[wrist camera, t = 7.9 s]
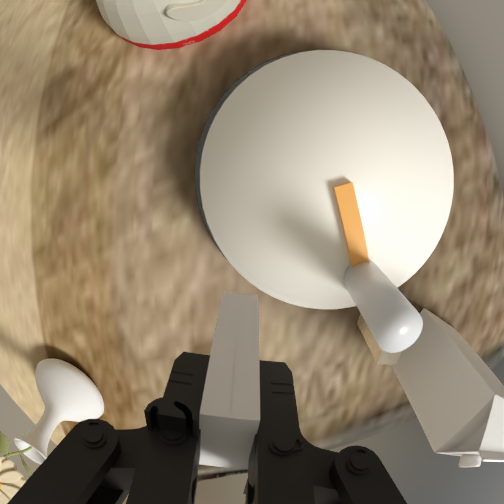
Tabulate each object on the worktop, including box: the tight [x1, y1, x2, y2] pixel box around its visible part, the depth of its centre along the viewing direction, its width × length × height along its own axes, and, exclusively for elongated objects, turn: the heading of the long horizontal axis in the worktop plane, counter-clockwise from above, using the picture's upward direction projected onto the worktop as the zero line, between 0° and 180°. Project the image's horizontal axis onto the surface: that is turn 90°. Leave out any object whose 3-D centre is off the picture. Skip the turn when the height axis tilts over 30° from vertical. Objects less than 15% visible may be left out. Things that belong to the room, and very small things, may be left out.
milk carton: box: [390, 308, 504, 467], centre depth 23 cm, size 7×7×19 cm
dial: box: [200, 50, 453, 353], centre depth 19 cm, size 20×20×11 cm
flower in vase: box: [0, 358, 104, 504], centre depth 23 cm, size 13×11×25 cm
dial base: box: [195, 51, 402, 364], centre depth 23 cm, size 25×22×7 cm
